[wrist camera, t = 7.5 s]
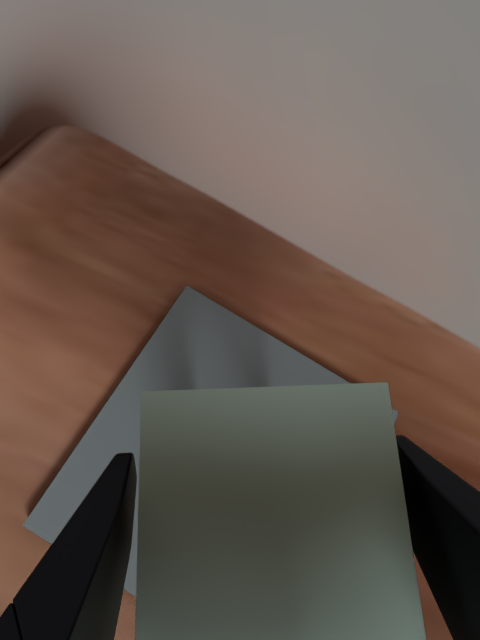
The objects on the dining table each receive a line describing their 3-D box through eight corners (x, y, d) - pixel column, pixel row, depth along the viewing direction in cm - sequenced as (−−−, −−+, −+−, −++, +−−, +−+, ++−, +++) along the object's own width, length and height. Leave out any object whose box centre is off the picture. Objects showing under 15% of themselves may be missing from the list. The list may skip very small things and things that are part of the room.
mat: (280, 680, 17) (283, 689, 16) (28, 521, 17) (22, 525, 16) (393, 412, 21) (399, 412, 20) (186, 288, 21) (186, 285, 20)
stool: (291, 523, 18) (431, 674, 7) (169, 534, 17) (132, 721, 7) (282, 400, 19) (387, 382, 9) (170, 405, 19) (141, 391, 8)
